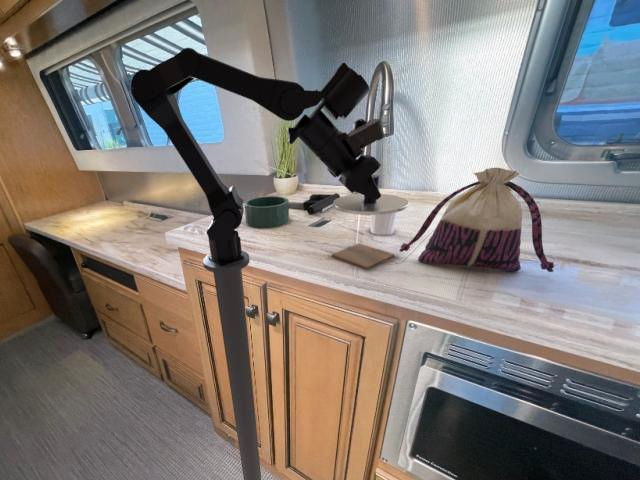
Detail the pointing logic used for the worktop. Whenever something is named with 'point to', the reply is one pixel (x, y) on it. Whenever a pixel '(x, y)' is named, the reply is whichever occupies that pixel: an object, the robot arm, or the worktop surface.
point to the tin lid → (370, 203)
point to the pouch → (483, 226)
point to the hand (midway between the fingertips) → (376, 196)
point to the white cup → (383, 223)
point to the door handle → (316, 203)
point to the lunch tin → (267, 212)
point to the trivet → (363, 256)
